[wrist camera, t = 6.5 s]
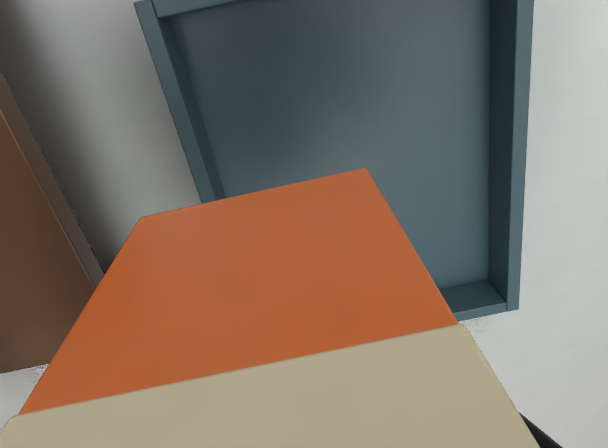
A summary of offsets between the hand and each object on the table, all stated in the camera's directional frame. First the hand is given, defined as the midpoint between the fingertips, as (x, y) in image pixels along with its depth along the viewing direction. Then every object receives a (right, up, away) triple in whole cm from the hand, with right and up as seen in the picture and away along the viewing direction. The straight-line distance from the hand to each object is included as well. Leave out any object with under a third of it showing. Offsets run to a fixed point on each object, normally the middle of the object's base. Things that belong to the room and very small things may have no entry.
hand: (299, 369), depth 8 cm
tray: (+2, +5, +11) cm, 13 cm away
